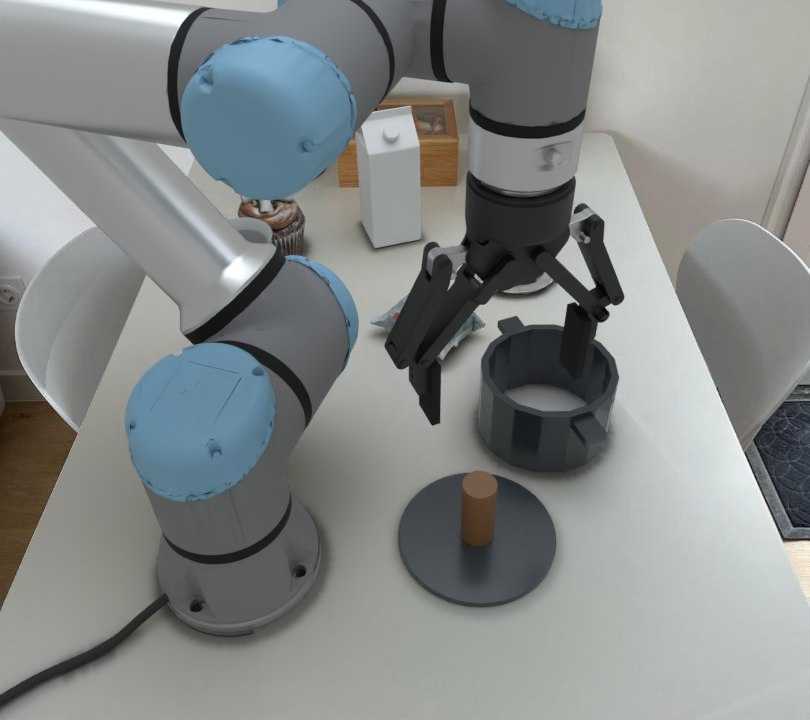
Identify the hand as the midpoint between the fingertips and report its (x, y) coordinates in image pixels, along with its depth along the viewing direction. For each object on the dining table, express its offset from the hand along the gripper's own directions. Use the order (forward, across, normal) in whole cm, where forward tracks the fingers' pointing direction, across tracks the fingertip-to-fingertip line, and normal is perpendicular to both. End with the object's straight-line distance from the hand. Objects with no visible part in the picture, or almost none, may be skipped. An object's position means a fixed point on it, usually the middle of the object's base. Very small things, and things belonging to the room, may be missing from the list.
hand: (501, 391), depth 70 cm
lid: (+17, -3, -2) cm, 17 cm away
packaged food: (+18, +5, +28) cm, 33 cm away
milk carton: (+18, +10, +51) cm, 55 cm away
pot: (+17, +11, +8) cm, 22 cm away
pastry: (+18, +21, +35) cm, 45 cm away
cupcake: (+18, -7, +54) cm, 57 cm away
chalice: (+18, -15, +32) cm, 40 cm away
